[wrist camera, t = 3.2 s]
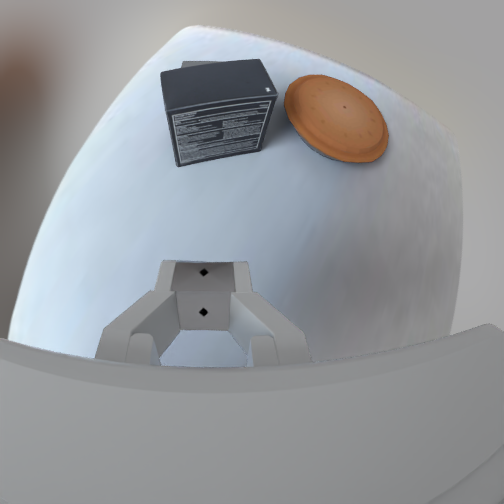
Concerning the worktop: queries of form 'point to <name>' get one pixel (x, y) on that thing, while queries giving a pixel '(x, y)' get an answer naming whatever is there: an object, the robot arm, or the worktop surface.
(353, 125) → the pie
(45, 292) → the worktop surface
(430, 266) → the worktop surface
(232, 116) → the small box
